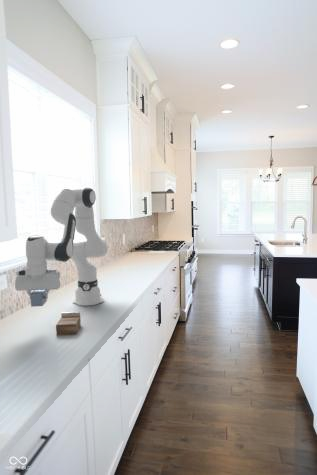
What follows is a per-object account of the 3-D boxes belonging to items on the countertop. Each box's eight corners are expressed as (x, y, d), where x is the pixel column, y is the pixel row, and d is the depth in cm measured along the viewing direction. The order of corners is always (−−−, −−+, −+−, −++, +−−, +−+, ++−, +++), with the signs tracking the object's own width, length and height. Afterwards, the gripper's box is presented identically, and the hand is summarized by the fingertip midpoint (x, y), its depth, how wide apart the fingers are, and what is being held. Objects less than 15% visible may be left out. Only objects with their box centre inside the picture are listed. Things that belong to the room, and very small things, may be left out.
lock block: (36, 301, 162) (35, 289, 161) (46, 300, 162) (46, 288, 162) (31, 306, 154) (30, 293, 153) (42, 306, 154) (41, 293, 154)
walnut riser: (62, 326, 166) (61, 312, 165) (80, 325, 166) (80, 311, 166) (56, 335, 154) (55, 320, 153) (76, 334, 154) (75, 319, 154)
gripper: (61, 268, 160) (62, 296, 162) (17, 269, 159) (19, 297, 160) (58, 270, 154) (59, 300, 155) (12, 272, 153) (14, 301, 154)
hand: (38, 298), depth 158 cm, fingers closed on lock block, 5 cm apart
